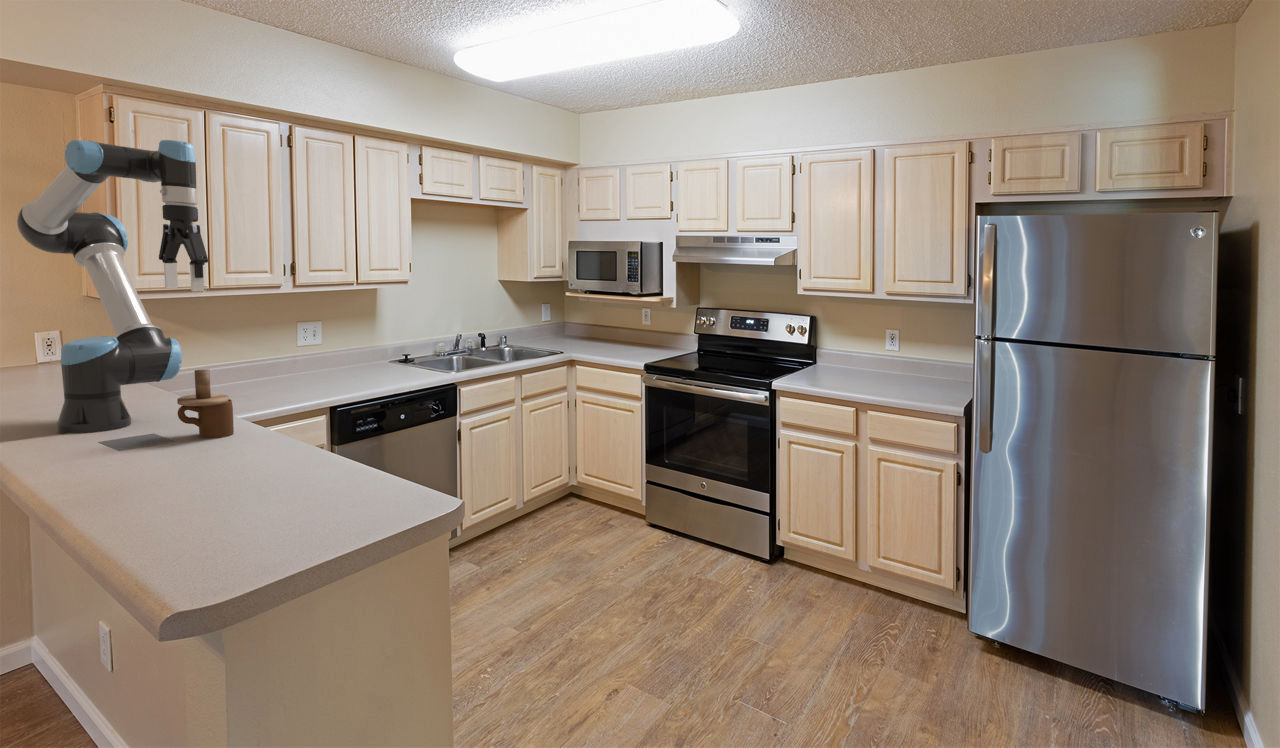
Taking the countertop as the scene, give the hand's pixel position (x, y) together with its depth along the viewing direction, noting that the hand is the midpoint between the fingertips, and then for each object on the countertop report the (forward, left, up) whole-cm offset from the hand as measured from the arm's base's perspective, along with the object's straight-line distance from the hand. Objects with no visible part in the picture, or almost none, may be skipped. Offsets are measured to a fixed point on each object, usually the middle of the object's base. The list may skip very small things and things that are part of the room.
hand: (184, 290), depth 181 cm
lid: (+11, -2, -27) cm, 30 cm away
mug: (+11, -2, -37) cm, 39 cm away
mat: (+6, -15, -37) cm, 40 cm away
